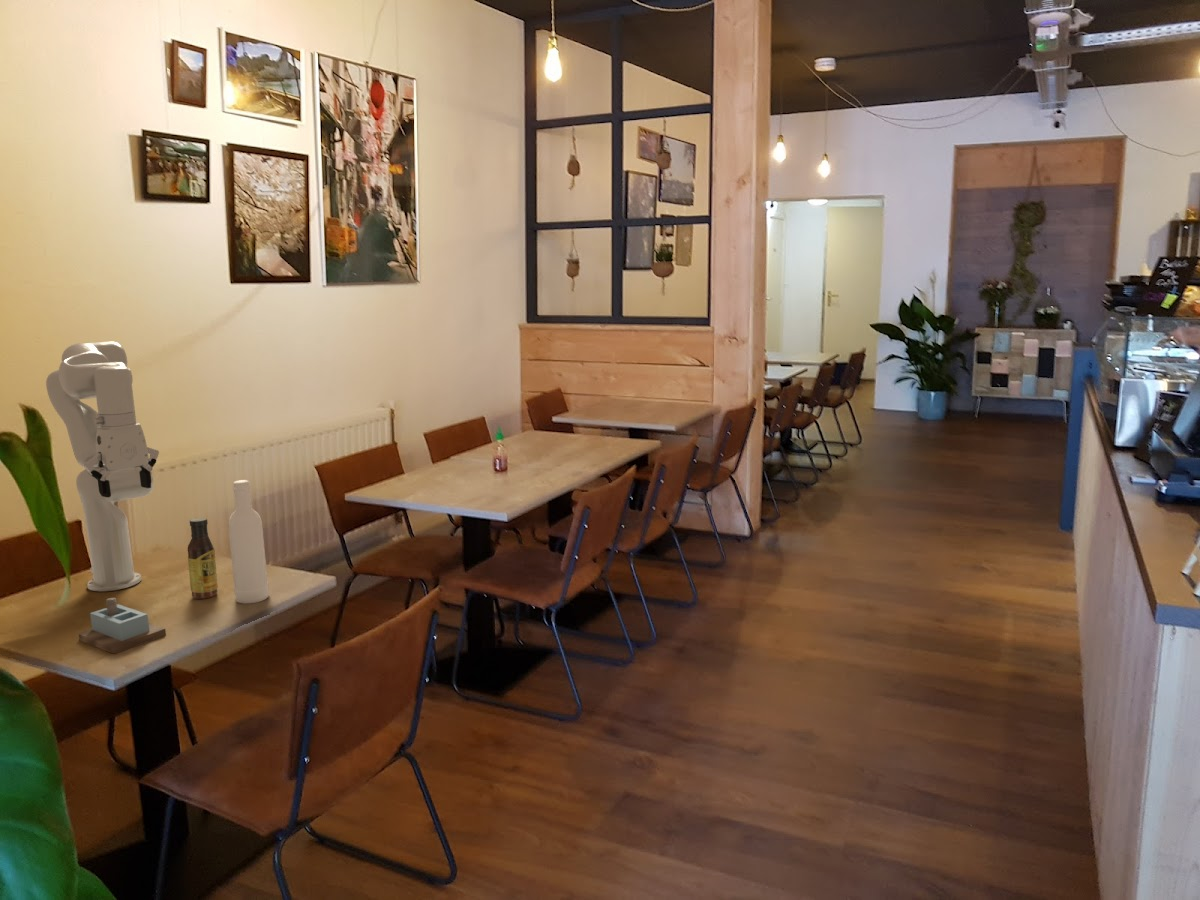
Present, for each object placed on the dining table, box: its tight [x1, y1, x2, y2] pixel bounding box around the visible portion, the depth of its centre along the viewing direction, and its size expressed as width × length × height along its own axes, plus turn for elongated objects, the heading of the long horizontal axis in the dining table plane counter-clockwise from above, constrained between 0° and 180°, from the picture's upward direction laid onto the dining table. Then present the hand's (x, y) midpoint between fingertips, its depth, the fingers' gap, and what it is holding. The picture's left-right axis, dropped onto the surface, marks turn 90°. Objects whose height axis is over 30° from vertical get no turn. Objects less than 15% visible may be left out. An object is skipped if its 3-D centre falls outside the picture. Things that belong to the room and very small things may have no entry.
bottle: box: [227, 479, 270, 605], centre depth 226 cm, size 8×8×30 cm
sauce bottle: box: [187, 517, 219, 600], centre depth 229 cm, size 6×6×20 cm
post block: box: [78, 597, 167, 655], centre depth 205 cm, size 14×12×8 cm
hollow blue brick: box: [89, 603, 150, 641], centre depth 205 cm, size 12×6×4 cm, turn 57°
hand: (126, 491), depth 214 cm, fingers open, 9 cm apart
